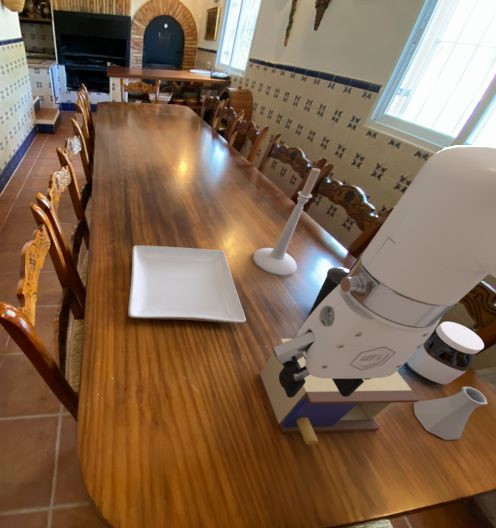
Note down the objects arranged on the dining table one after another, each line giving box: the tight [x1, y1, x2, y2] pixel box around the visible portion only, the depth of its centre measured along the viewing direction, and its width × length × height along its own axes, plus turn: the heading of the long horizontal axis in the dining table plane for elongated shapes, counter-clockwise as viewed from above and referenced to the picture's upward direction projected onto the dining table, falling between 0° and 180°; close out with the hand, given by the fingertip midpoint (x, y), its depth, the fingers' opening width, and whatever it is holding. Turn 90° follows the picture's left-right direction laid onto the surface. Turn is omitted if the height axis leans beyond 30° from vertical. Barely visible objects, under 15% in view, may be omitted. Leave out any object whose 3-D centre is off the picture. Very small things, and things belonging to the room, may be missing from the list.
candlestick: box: [252, 167, 321, 277], centre depth 82 cm, size 13×13×30 cm
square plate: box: [127, 245, 247, 324], centre depth 78 cm, size 27×27×4 cm
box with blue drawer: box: [259, 338, 420, 434], centre depth 54 cm, size 12×18×12 cm, turn 93°
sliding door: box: [283, 398, 358, 446], centre depth 48 cm, size 4×9×9 cm, turn 93°
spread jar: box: [404, 321, 485, 386], centre depth 63 cm, size 12×11×12 cm
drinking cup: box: [308, 254, 362, 317], centre depth 68 cm, size 8×8×20 cm
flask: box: [412, 386, 489, 441], centre depth 53 cm, size 7×7×10 cm
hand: (312, 385), depth 39 cm, fingers open, 6 cm apart
